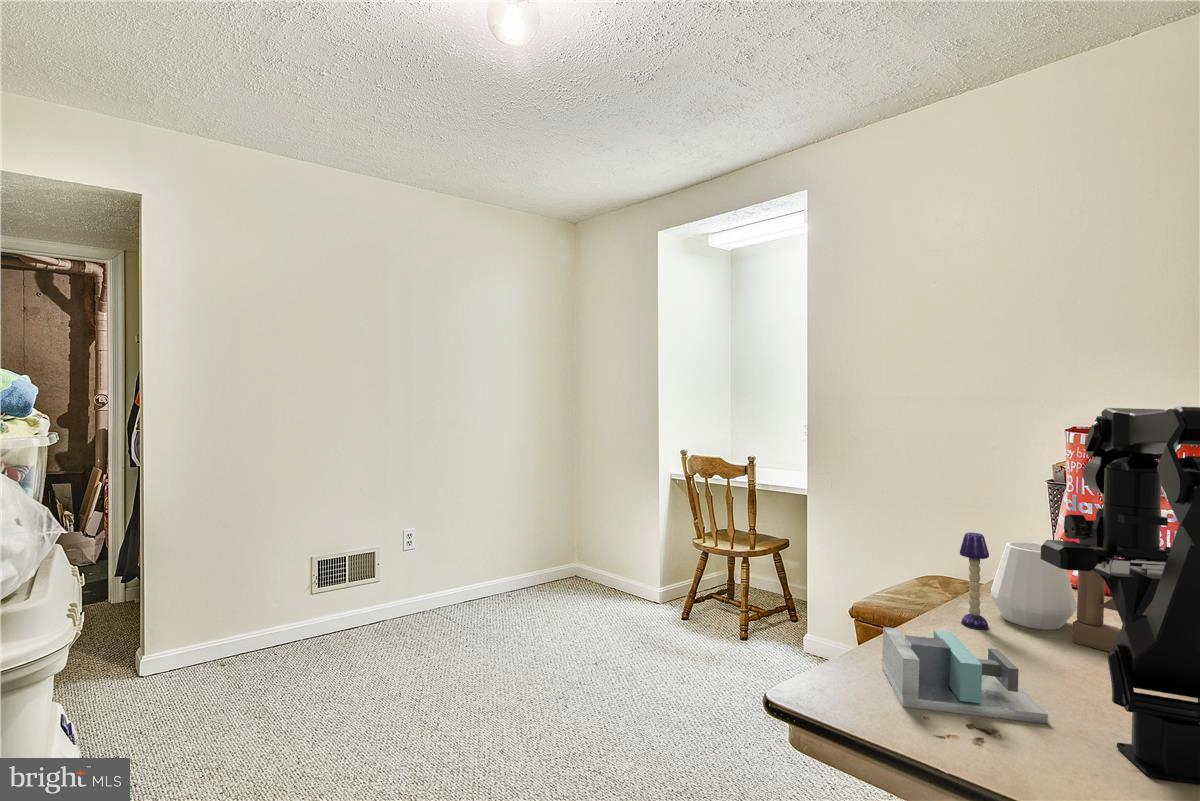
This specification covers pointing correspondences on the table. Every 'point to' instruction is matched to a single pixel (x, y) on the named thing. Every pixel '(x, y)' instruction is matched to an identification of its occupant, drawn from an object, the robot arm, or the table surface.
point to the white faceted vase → (1032, 588)
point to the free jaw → (976, 669)
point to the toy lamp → (974, 577)
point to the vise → (994, 696)
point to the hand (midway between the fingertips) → (1128, 625)
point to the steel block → (932, 660)
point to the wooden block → (1094, 613)
